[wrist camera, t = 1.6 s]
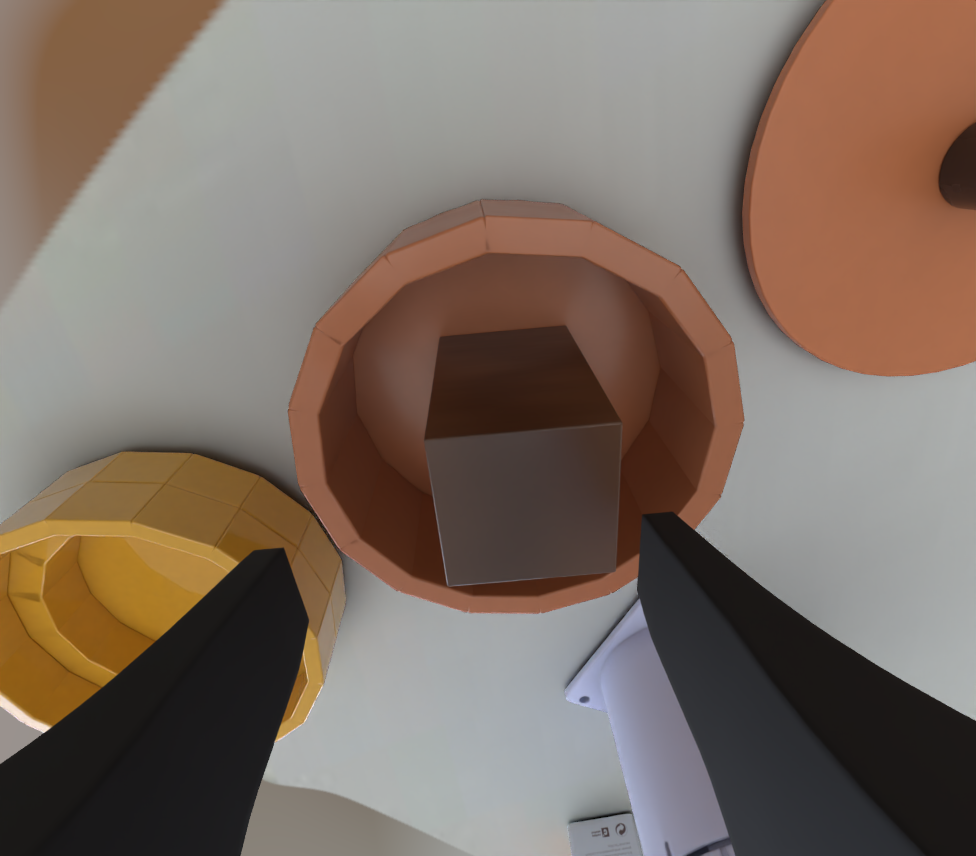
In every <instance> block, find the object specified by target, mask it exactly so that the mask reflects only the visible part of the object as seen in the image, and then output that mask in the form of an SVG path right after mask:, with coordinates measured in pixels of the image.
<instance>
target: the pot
mask: <svg viewBox="0 0 976 856" xmlns="http://www.w3.org/2000/svg"><path fill="white" fill-rule="evenodd" d="M564 325H565V326H567V328H568V329H569V331H570V333H571V335H572V336H573V338H574V340H575V341H576V343H577V345H578V347H579V348H580V350H581V352H582V354H583V355H584V357H585V359H586V361H587V362H588V364H589V366H590V367H591V369H592V371H593V373H594V374H595V376H596V378H597V380H598V381H599V383H600V385H601V386H602V388H603V390H604V392H605V393H606V395H607V397H608V399H609V400H610V402H611V404H612V406H613V407H614V409H615V411H616V412H617V414H618V416H619V418H620V419H621V421H622V423H623V427H622V449H621V471H620V493H619V515H618V537H617V560H616V571H615V572H611V573H600V574H588V575H577V576H565V577H554V578H542V579H531V580H519V581H508V582H496V583H485V584H473V585H462V586H450V587H449V586H447V583H446V576H445V570H444V564H443V558H442V551H441V545H440V539H439V533H438V526H437V520H436V514H435V508H434V501H433V495H432V489H431V483H430V477H429V470H428V464H427V458H426V452H425V445H424V437H425V430H426V423H427V417H428V410H429V403H430V397H431V390H432V383H433V377H434V370H435V364H436V357H437V350H438V344H439V338H440V337H442V336H454V335H465V334H476V333H487V332H498V331H509V330H520V329H531V328H542V327H553V326H564ZM288 416H289V423H290V430H291V437H292V444H293V451H294V458H295V465H296V472H297V479H298V485H299V486H300V489H301V491H302V493H303V494H304V496H305V497H306V499H307V500H308V502H309V503H310V505H311V507H312V508H313V510H314V511H315V513H316V514H317V516H318V517H319V519H320V520H321V522H322V524H323V525H324V527H325V528H326V530H327V531H328V533H329V534H330V536H331V538H332V539H333V541H334V542H335V544H336V545H337V547H338V548H340V551H342V552H343V553H344V554H346V555H347V556H349V557H350V558H351V559H353V560H354V561H356V562H357V563H358V564H360V565H361V566H362V567H364V568H365V569H367V570H368V571H369V572H371V573H372V574H374V575H375V576H376V577H378V578H379V579H381V580H382V581H383V582H385V583H386V584H387V585H389V586H390V587H392V588H393V589H394V590H396V591H399V592H401V593H404V594H407V595H410V596H414V597H417V598H420V599H423V600H427V601H430V602H433V603H436V604H440V605H443V606H446V607H449V608H452V609H456V610H459V611H462V612H468V613H506V614H539V613H540V612H541V613H545V612H549V611H552V610H556V609H560V608H563V607H567V606H570V605H574V604H577V603H581V602H585V601H588V600H592V599H595V598H599V597H602V596H606V595H609V594H610V592H611V593H614V592H615V591H617V590H618V589H620V588H621V587H623V586H625V585H626V584H628V583H629V582H631V581H633V580H634V579H636V578H637V577H638V568H639V553H640V537H641V522H642V514H651V513H662V512H674V513H675V514H676V515H677V516H679V517H680V518H681V519H682V520H683V521H684V522H686V523H687V524H688V525H689V526H690V527H691V528H693V529H694V530H695V528H696V527H697V526H698V525H699V524H700V522H701V521H702V520H703V519H704V517H705V516H706V515H707V514H708V512H709V511H710V510H711V509H712V507H713V506H714V505H715V504H716V503H717V501H718V500H719V499H720V498H721V494H722V492H723V489H724V486H725V483H726V480H727V476H728V473H729V470H730V467H731V464H732V460H733V457H734V454H735V451H736V448H737V444H738V441H739V438H740V435H741V432H742V429H743V425H744V424H743V422H744V413H743V406H742V398H741V391H740V384H739V376H738V369H737V362H736V354H735V347H734V343H733V342H732V338H731V336H730V335H729V334H728V332H727V331H726V329H725V328H724V326H723V325H722V324H721V322H720V321H719V319H718V318H717V317H716V315H715V314H714V312H713V311H712V309H711V308H710V307H709V305H708V304H707V302H706V301H705V299H704V298H703V297H702V295H701V294H700V292H699V291H698V290H697V288H696V287H695V285H694V284H693V282H692V281H691V280H690V278H689V277H688V275H687V274H686V273H685V271H684V270H682V269H681V267H680V266H679V265H677V264H675V263H673V262H671V261H669V260H667V259H665V258H663V257H662V256H660V255H658V254H656V253H654V252H652V251H650V250H648V249H647V248H645V247H643V246H641V245H639V244H637V243H635V242H633V241H631V240H630V239H628V238H626V237H624V236H622V235H620V234H618V233H616V232H614V231H613V230H611V229H609V228H607V227H605V226H603V225H601V224H599V223H597V222H596V221H594V220H592V219H590V218H588V217H586V216H584V215H582V214H580V213H578V212H577V211H575V210H573V209H571V208H569V207H567V206H565V205H563V204H560V203H545V202H532V201H523V200H486V199H481V200H480V201H474V202H472V203H469V204H467V205H464V206H462V207H459V208H455V209H452V210H449V211H446V212H443V213H440V214H438V215H436V216H434V217H432V218H430V219H428V220H426V221H424V222H421V223H418V224H416V225H413V226H411V227H408V228H407V229H406V230H403V231H402V232H401V233H400V234H399V235H398V236H397V237H396V238H395V239H394V240H393V241H392V242H391V243H390V244H389V245H388V246H387V247H386V248H385V250H384V251H383V252H382V253H381V254H379V256H378V257H377V258H376V259H375V260H374V261H373V262H372V263H371V264H370V265H369V266H368V267H367V268H366V269H365V270H364V271H363V272H362V273H361V274H360V275H359V276H358V277H357V278H356V279H355V281H354V282H353V283H352V284H351V285H350V286H349V287H348V288H347V289H346V290H345V292H344V293H343V294H342V295H341V296H340V297H339V298H338V299H337V301H336V302H335V303H334V304H333V305H332V306H331V307H330V308H329V310H328V311H327V312H326V313H325V314H324V315H323V316H322V317H321V318H320V320H319V321H318V322H317V323H316V325H315V327H314V329H313V332H312V335H311V338H310V341H309V344H308V347H307V350H306V353H305V356H304V359H303V362H302V365H301V368H300V371H299V374H298V377H297V380H296V383H295V387H294V390H293V393H292V396H291V399H290V402H289V409H288Z"/></svg>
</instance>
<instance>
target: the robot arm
mask: <svg viewBox="0 0 976 856" xmlns="http://www.w3.org/2000/svg"><path fill="white" fill-rule="evenodd" d="M637 591H638V595H639V599H638V600H637V602H636V603H635V604H634V605H633V606H632V608H631V609H630V610H629V611H628V613H627V614H626V615H625V616H624V618H623V619H622V620H621V621H620V622H619V624H618V625H617V626H616V627H615V629H614V630H613V631H612V632H611V634H610V635H609V636H608V637H607V638H606V640H605V641H604V642H603V643H602V645H601V646H600V647H599V648H598V650H597V651H596V652H595V653H594V654H593V656H592V657H591V658H590V659H589V661H588V662H587V663H586V664H585V666H584V667H583V668H582V669H581V670H580V672H579V673H578V674H577V675H576V677H575V678H574V679H573V680H572V682H571V683H570V684H569V685H568V686H567V688H566V689H565V695H566V699H567V700H568V701H569V702H571V703H575V704H578V705H582V706H586V707H589V708H593V709H596V710H600V711H603V712H607V713H608V716H609V720H610V724H611V728H612V732H613V736H614V740H615V744H616V748H617V752H618V756H619V759H620V763H621V767H622V771H623V775H624V779H625V783H626V787H627V791H628V795H629V799H630V803H631V807H632V811H633V815H634V819H635V823H636V827H637V831H638V835H639V839H640V843H641V847H642V851H643V855H644V856H976V721H975V720H973V719H971V718H969V717H967V716H965V715H964V714H962V713H960V712H958V711H956V710H954V709H953V708H951V707H949V706H947V705H945V704H944V703H942V702H940V701H938V700H936V699H935V698H933V697H931V696H929V695H928V694H926V693H924V692H922V691H920V690H919V689H917V688H915V687H913V686H911V685H910V684H908V683H906V682H904V681H903V680H901V679H899V678H898V677H896V676H894V675H893V674H891V673H889V672H888V671H886V670H884V669H882V668H881V667H879V666H877V665H876V664H874V663H873V662H871V661H870V660H868V659H866V658H865V657H863V656H862V655H860V654H859V653H857V652H855V651H854V650H852V649H851V648H849V647H848V646H846V645H844V644H843V643H841V642H840V641H838V640H837V639H835V638H833V637H832V636H830V635H829V634H827V633H826V632H825V631H823V630H822V629H820V628H819V627H817V626H816V625H814V624H813V623H811V622H810V621H809V620H807V619H806V618H804V617H803V616H802V615H800V614H799V613H798V612H796V611H795V610H793V609H792V608H791V607H789V606H788V605H786V604H785V603H784V602H782V601H781V600H780V599H778V598H777V597H776V596H774V595H773V594H772V593H770V592H769V591H768V590H766V589H765V588H764V587H762V586H761V585H760V584H759V583H757V582H756V581H755V580H754V579H752V578H751V577H750V576H749V575H747V574H746V573H745V572H744V571H742V570H741V569H740V568H739V567H737V566H736V565H735V564H734V563H733V562H731V561H730V560H729V559H728V558H726V557H725V556H724V555H723V554H722V553H721V552H719V551H718V550H717V549H716V548H715V547H713V546H712V545H711V544H710V543H709V542H708V541H706V540H705V539H704V538H703V537H702V536H701V535H699V534H698V533H697V532H696V531H695V530H694V529H693V528H691V527H690V526H689V525H688V524H687V523H686V522H684V521H683V520H682V519H681V518H680V517H679V516H677V515H676V514H675V513H674V512H662V513H651V514H642V522H641V537H640V553H639V568H638V584H637ZM308 624H309V618H308V615H307V612H306V609H305V606H304V603H303V600H302V598H301V595H300V592H299V589H298V586H297V583H296V581H295V578H294V575H293V572H292V569H291V566H290V563H289V561H288V558H287V555H286V552H285V549H284V547H282V548H271V549H261V550H254V551H252V552H251V553H250V554H249V555H248V556H247V557H245V558H244V559H243V560H242V561H241V562H240V563H239V564H238V565H237V566H236V567H235V568H233V569H232V570H231V571H230V572H229V573H228V574H227V575H226V576H225V577H224V578H223V579H222V580H221V581H220V582H219V583H218V584H217V585H216V586H215V587H213V588H212V589H211V590H210V591H209V592H208V593H207V594H206V595H205V596H204V597H203V598H202V599H201V600H200V601H199V602H198V603H197V604H196V605H194V606H193V607H192V608H191V609H190V610H189V611H188V612H187V613H186V614H185V615H184V616H183V617H182V618H181V619H180V620H178V621H177V622H176V623H175V624H174V625H173V626H172V627H171V628H170V629H169V630H168V631H167V632H166V633H164V634H163V635H162V636H161V637H160V638H159V639H158V640H156V641H155V642H154V643H153V644H152V645H151V646H150V647H148V648H147V649H146V650H145V651H144V652H143V653H142V654H140V655H139V656H138V657H137V658H136V659H135V660H134V661H132V662H131V663H130V664H129V665H128V666H127V667H126V668H124V669H123V670H122V671H121V672H120V673H119V674H118V675H116V676H115V677H114V678H113V679H112V680H111V681H109V682H108V683H107V684H106V685H105V686H103V687H102V688H101V689H100V690H98V691H97V692H96V693H95V694H93V695H92V696H91V697H90V698H89V699H87V700H86V701H85V702H84V703H82V704H81V705H80V706H78V707H77V708H76V709H75V710H73V711H72V712H71V713H69V714H68V715H67V716H65V717H64V718H63V719H62V720H60V721H59V722H58V723H56V724H55V725H54V726H52V727H51V728H50V729H49V730H47V731H46V732H45V733H43V734H42V735H41V736H39V737H38V738H37V739H35V740H34V741H33V742H31V743H30V744H29V745H27V746H26V747H24V748H23V749H21V750H20V751H18V752H17V753H16V754H14V755H13V756H11V757H10V758H9V759H7V760H6V761H4V762H3V763H1V764H0V856H240V855H241V851H242V847H243V843H244V839H245V835H246V831H247V827H248V823H249V819H250V816H251V812H252V809H253V806H254V802H255V799H256V796H257V792H258V789H259V786H260V783H261V781H262V778H263V775H264V772H265V769H266V766H267V763H268V760H269V757H270V754H271V751H272V748H273V746H274V743H275V740H276V737H277V734H278V731H279V728H280V725H281V722H282V719H283V717H284V714H285V711H286V708H287V705H288V702H289V699H290V696H291V693H292V690H293V687H294V684H295V681H296V678H297V675H298V671H299V668H300V663H301V659H302V654H303V650H304V645H305V640H306V634H307V629H308Z"/></svg>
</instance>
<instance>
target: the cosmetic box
mask: <svg viewBox="0 0 976 856" xmlns="http://www.w3.org/2000/svg"><path fill="white" fill-rule="evenodd" d="M568 833H569V840H570V847H571V854H572V856H643V853H642V849H641V845H640V841H639V837H638V833H637V829H636V825H635V821H634V817H633V815H632V814H629V813H628V814H621V815H615V816H610V817H604V818H598V819H593V820H587V821H581V822H574V823H570V824H569V825H568Z"/></svg>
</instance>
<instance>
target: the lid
mask: <svg viewBox="0 0 976 856" xmlns="http://www.w3.org/2000/svg"><path fill="white" fill-rule="evenodd" d="M742 222H743V243H744V248H745V253H746V259H747V264H748V269H749V272H750V275H751V278H752V281H753V284H754V287H755V289H756V292H757V294H758V296H759V298H760V300H761V302H762V304H763V305H764V307H765V309H766V311H767V313H768V314H769V315H770V317H771V318H772V319H773V321H774V322H775V323H776V324H777V326H778V327H779V328H780V330H781V331H782V332H783V333H785V334H786V335H787V336H788V337H789V338H790V339H791V340H792V341H793V342H794V343H796V344H797V345H798V346H800V347H801V348H803V349H804V350H806V351H808V352H809V353H811V354H812V355H814V356H816V357H817V358H819V359H821V360H823V361H825V362H827V363H830V364H832V365H835V366H837V367H839V368H842V369H846V370H850V371H854V372H858V373H862V374H869V375H879V376H913V375H920V374H927V373H934V372H939V371H943V370H947V369H951V368H955V367H959V366H963V365H966V364H969V363H971V362H974V361H976V0H826V1H825V2H824V4H823V5H822V6H821V7H820V9H819V10H818V12H817V13H816V15H815V16H814V18H813V19H812V21H811V22H810V24H809V25H808V27H807V28H806V30H805V31H804V33H803V34H802V36H801V37H800V39H799V40H798V42H797V43H796V45H795V47H794V49H793V50H792V52H791V54H790V56H789V58H788V60H787V62H786V63H785V65H784V67H783V69H782V71H781V73H780V74H779V76H778V78H777V80H776V82H775V85H774V87H773V90H772V92H771V94H770V97H769V99H768V101H767V104H766V106H765V108H764V111H763V113H762V116H761V119H760V122H759V125H758V129H757V132H756V135H755V138H754V142H753V145H752V148H751V152H750V157H749V162H748V168H747V173H746V178H745V183H744V196H743V209H742Z"/></svg>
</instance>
